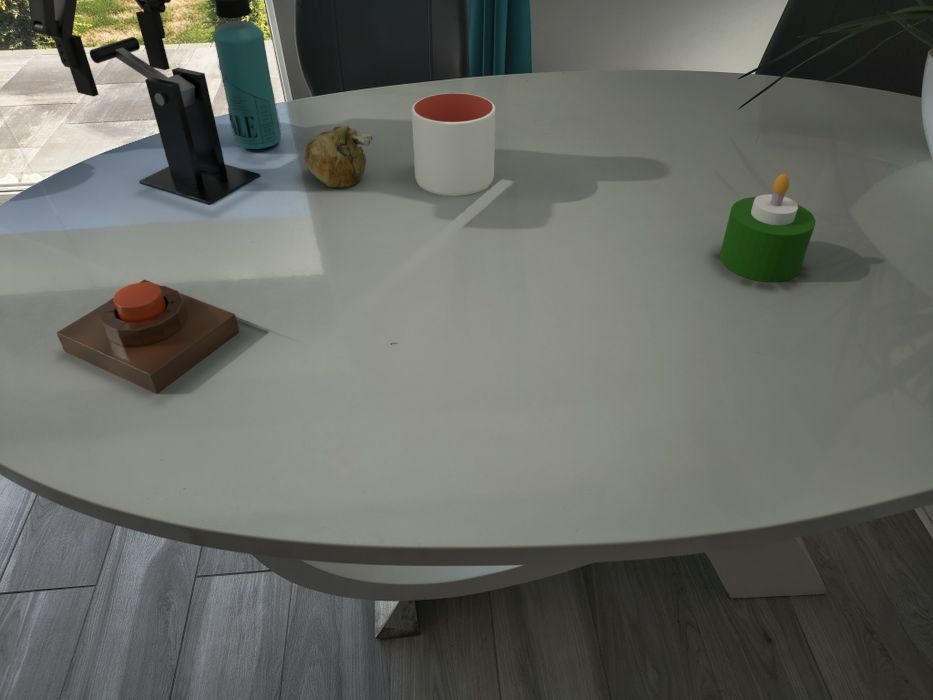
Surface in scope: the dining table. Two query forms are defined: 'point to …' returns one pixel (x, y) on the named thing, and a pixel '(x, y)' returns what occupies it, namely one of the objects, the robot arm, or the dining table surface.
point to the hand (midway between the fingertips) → (125, 80)
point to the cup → (454, 143)
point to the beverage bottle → (246, 77)
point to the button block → (150, 339)
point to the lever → (140, 65)
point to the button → (139, 302)
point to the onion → (337, 156)
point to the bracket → (191, 143)
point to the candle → (767, 236)
